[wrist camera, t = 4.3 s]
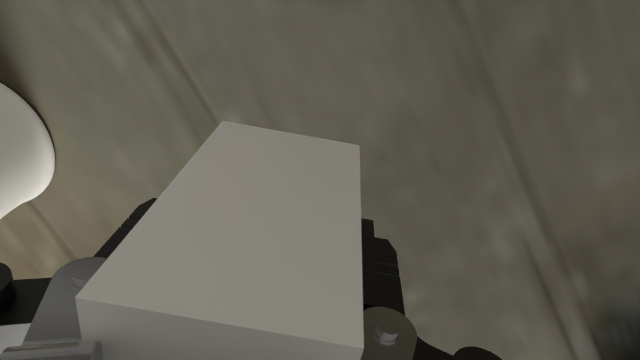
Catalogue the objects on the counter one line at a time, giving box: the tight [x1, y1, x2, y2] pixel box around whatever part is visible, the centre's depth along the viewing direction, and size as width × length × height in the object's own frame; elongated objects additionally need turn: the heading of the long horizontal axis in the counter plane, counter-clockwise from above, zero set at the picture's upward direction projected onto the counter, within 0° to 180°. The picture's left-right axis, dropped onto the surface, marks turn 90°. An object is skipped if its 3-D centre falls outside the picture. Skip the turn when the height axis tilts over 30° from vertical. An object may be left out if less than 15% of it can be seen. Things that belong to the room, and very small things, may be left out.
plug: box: [75, 121, 364, 360], centre depth 10 cm, size 4×4×10 cm
